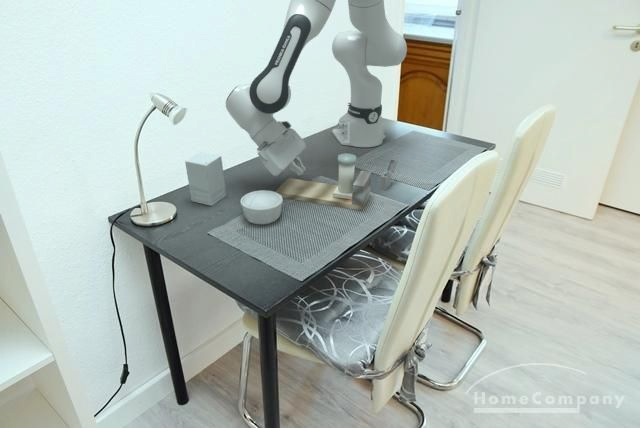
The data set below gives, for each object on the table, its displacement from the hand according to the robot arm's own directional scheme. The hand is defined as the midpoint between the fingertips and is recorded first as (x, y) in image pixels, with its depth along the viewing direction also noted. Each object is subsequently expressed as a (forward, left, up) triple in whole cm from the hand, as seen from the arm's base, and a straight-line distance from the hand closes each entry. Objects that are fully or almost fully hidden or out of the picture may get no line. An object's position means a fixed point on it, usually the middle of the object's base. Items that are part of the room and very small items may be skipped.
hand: (302, 172), depth 131 cm
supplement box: (-8, -26, -7) cm, 28 cm away
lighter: (+6, +26, -7) cm, 27 cm away
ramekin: (+8, -15, -7) cm, 19 cm away
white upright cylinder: (+9, +10, -5) cm, 14 cm away
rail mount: (+4, +5, -6) cm, 9 cm away
